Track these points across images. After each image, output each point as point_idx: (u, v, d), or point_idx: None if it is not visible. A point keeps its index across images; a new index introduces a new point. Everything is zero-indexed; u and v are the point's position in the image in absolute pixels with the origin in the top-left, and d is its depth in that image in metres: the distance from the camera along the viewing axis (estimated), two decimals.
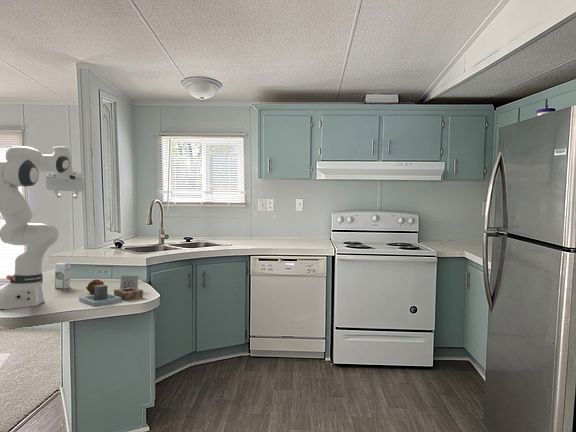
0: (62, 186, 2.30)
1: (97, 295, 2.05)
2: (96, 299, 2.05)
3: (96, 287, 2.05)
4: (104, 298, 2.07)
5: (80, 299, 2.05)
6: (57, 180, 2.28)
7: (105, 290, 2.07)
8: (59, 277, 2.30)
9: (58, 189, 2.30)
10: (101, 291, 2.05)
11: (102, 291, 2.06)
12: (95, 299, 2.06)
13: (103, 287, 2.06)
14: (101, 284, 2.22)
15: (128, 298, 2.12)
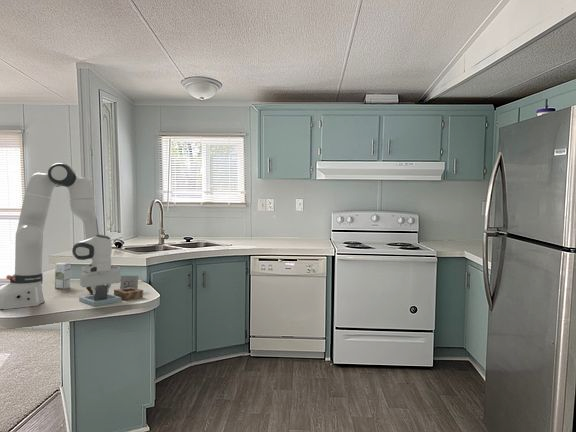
0: None
1: (97, 295, 2.05)
2: (96, 299, 2.05)
3: (96, 287, 2.05)
4: (104, 298, 2.07)
5: (80, 299, 2.05)
6: None
7: (105, 290, 2.07)
8: (59, 277, 2.30)
9: None
10: (101, 291, 2.05)
11: (102, 291, 2.06)
12: (95, 299, 2.06)
13: (103, 287, 2.06)
14: None
15: (128, 298, 2.12)
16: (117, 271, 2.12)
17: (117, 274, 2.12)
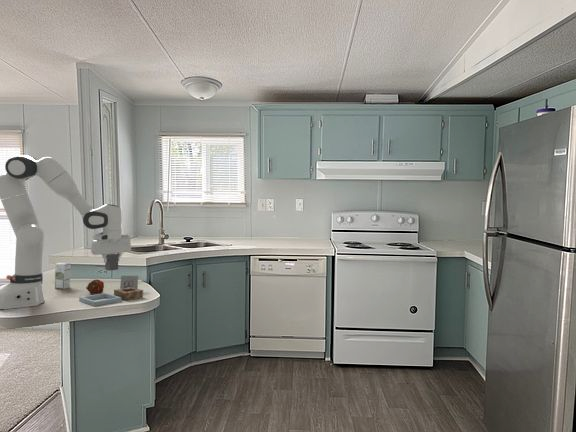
0: None
1: (108, 263, 2.08)
2: (107, 267, 2.08)
3: (107, 255, 2.08)
4: (115, 266, 2.09)
5: (80, 299, 2.05)
6: None
7: (116, 258, 2.10)
8: (59, 277, 2.30)
9: None
10: (112, 259, 2.08)
11: (113, 259, 2.08)
12: (106, 267, 2.09)
13: (114, 255, 2.09)
14: (101, 284, 2.22)
15: (128, 298, 2.12)
16: (127, 240, 2.15)
17: (128, 243, 2.15)
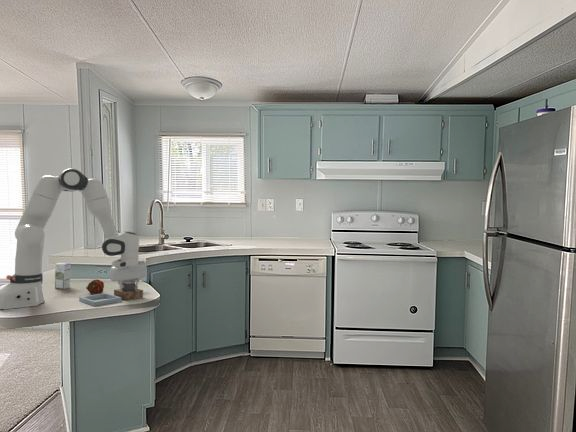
0: None
1: None
2: None
3: (124, 284, 2.16)
4: None
5: (80, 299, 2.05)
6: None
7: (133, 287, 2.17)
8: (59, 277, 2.30)
9: None
10: (129, 288, 2.15)
11: (130, 288, 2.16)
12: None
13: (131, 284, 2.16)
14: (101, 284, 2.22)
15: (128, 298, 2.12)
16: (143, 266, 2.22)
17: (144, 269, 2.23)
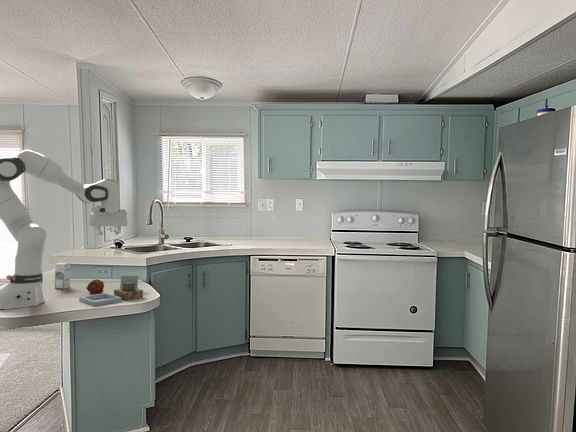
0: None
1: None
2: None
3: (124, 284, 2.16)
4: None
5: (80, 299, 2.05)
6: None
7: (133, 287, 2.17)
8: (59, 277, 2.30)
9: None
10: (129, 288, 2.15)
11: (130, 288, 2.16)
12: None
13: (131, 284, 2.16)
14: (101, 284, 2.22)
15: (128, 298, 2.12)
16: (124, 215, 2.24)
17: (124, 217, 2.25)
